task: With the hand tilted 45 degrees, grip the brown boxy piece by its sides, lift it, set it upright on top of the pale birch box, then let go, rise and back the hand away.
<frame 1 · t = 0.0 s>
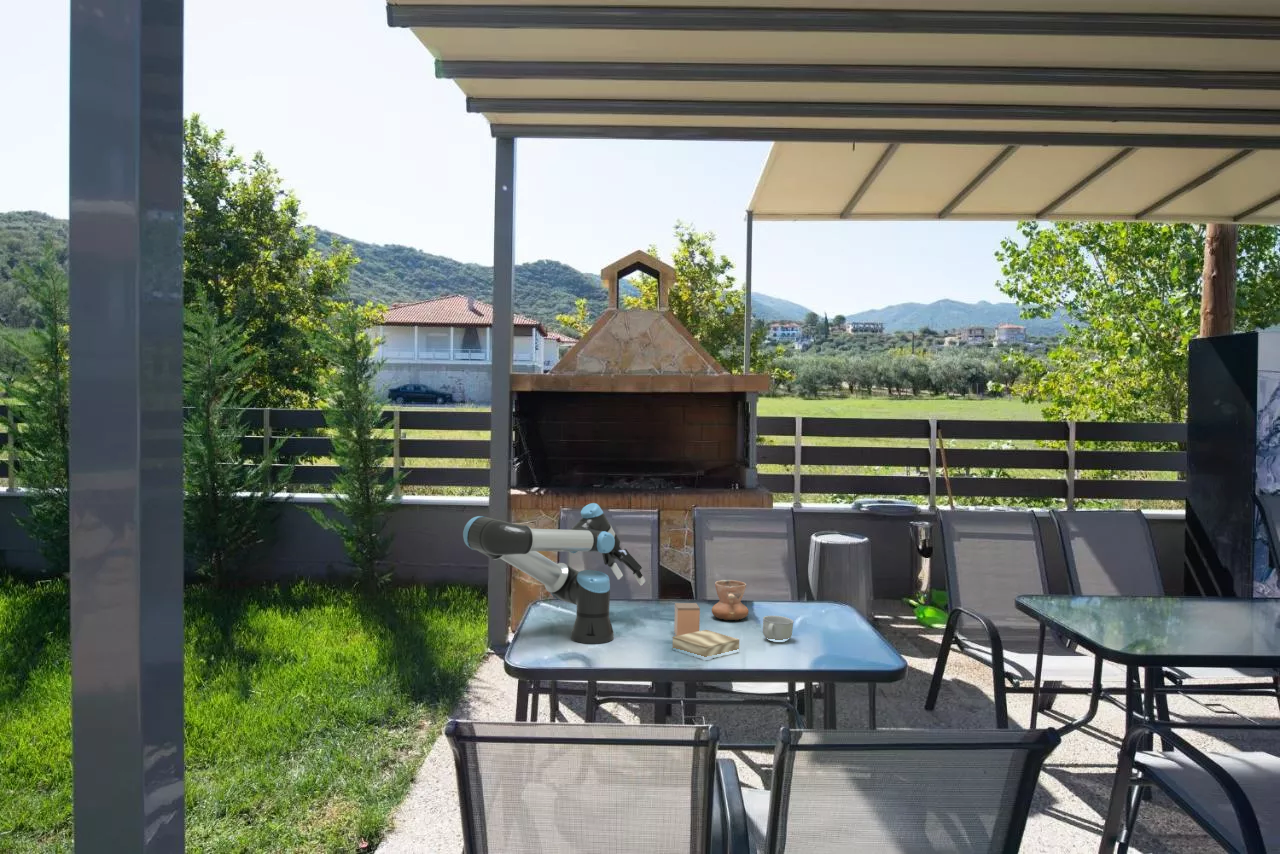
hand: (631, 580, 340), 15 cm above the table, tool tilted 35°, fingers open, 13 cm apart
birch box: (705, 652, 298), on the table
ceramic jug: (729, 618, 346), on the table
teacup: (775, 642, 312), on the table
brown boxy piece: (686, 635, 318), on the table
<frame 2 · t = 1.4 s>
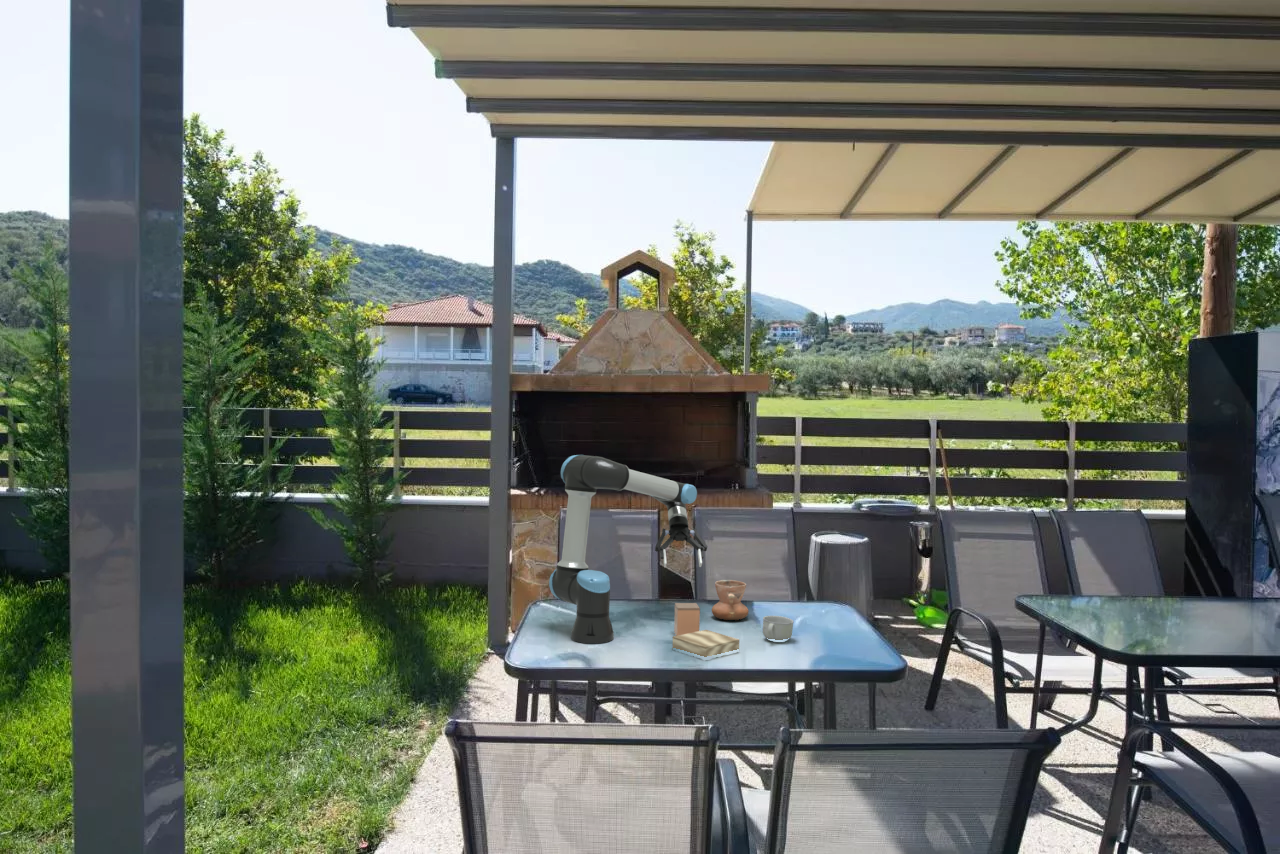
hand: (683, 565, 333), 23 cm above the table, tool tilted 45°, fingers open, 13 cm apart
nothing on the table moved.
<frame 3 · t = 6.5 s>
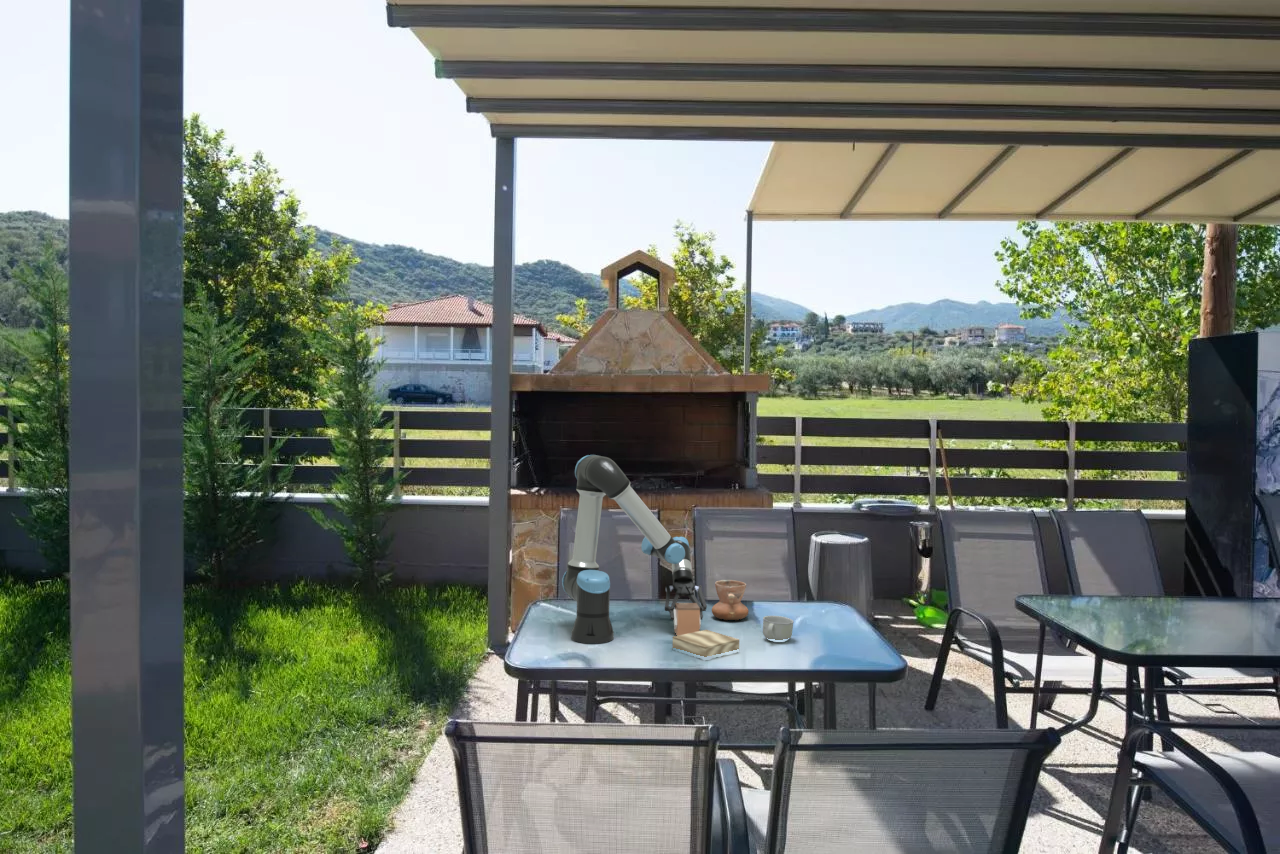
hand: (687, 626, 316), 4 cm above the table, tool tilted 45°, fingers closed on brown boxy piece, 8 cm apart
brown boxy piece: (686, 635, 318), on the table, touching gripper
everything else where it was.
when the fingers open (10 cm above the table, at t = 12.3 s): brown boxy piece drops 1 cm, point 5 cm above the table.
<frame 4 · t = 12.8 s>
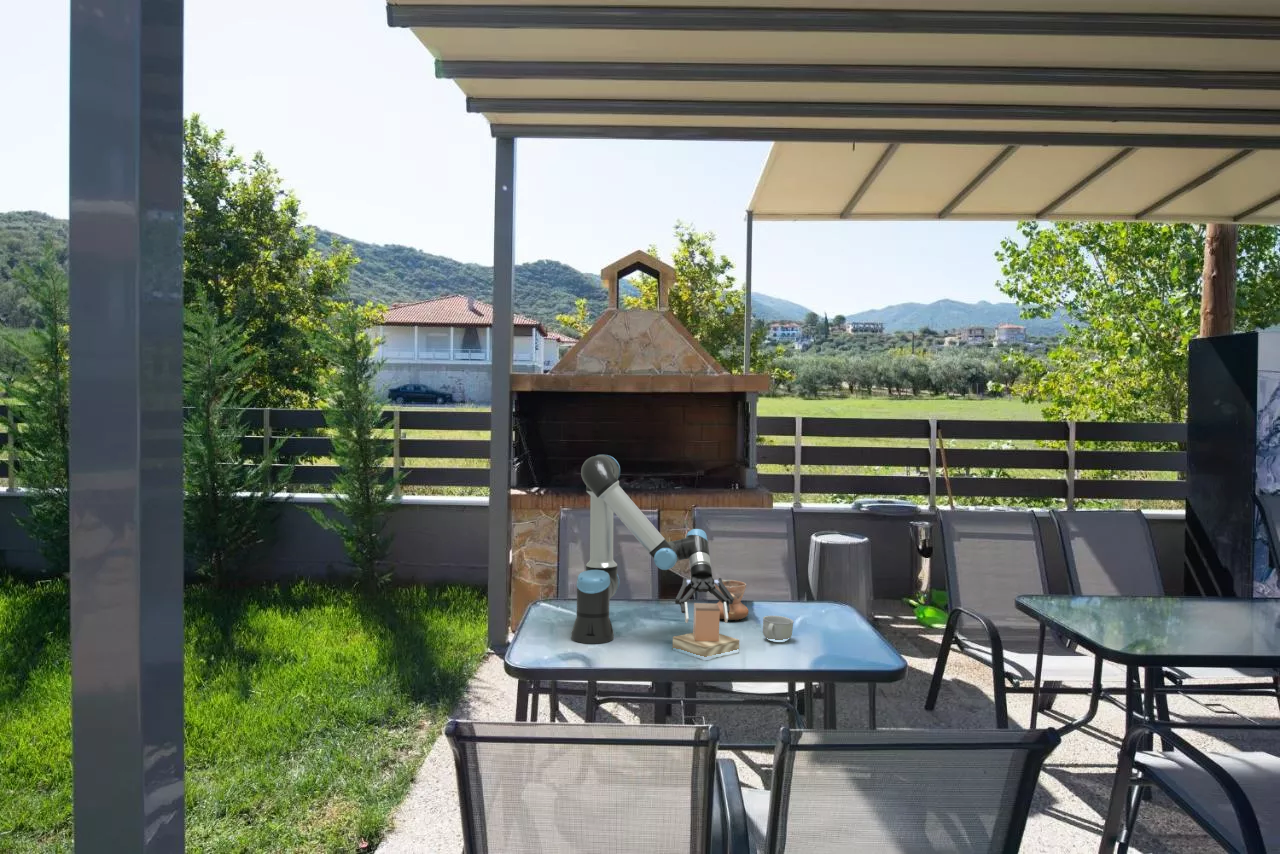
hand: (706, 620, 297), 11 cm above the table, tool tilted 45°, fingers open, 13 cm apart
brown boxy piece: (705, 638, 298), point 5 cm above the table
everything else where it was.
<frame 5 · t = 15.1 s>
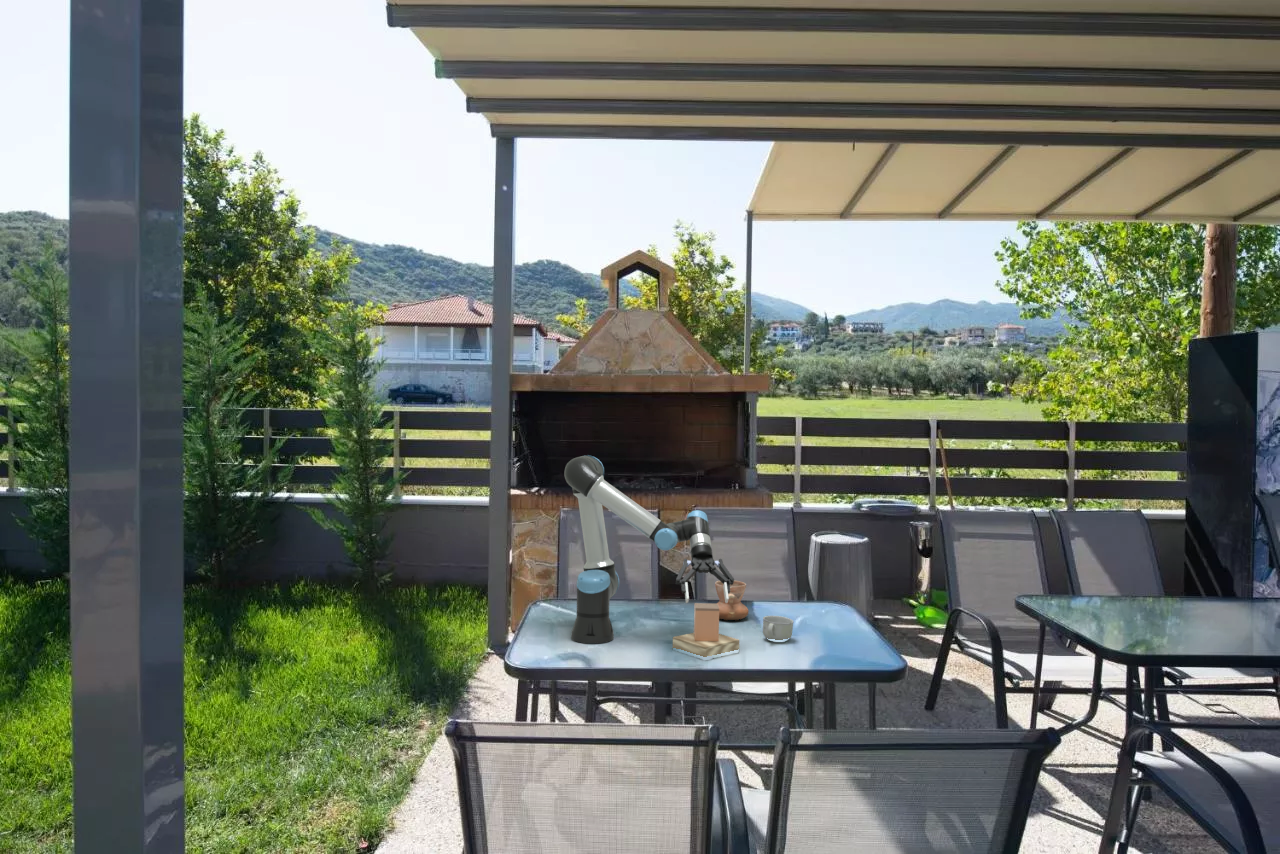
hand: (707, 600, 297), 17 cm above the table, tool tilted 45°, fingers open, 13 cm apart
nothing on the table moved.
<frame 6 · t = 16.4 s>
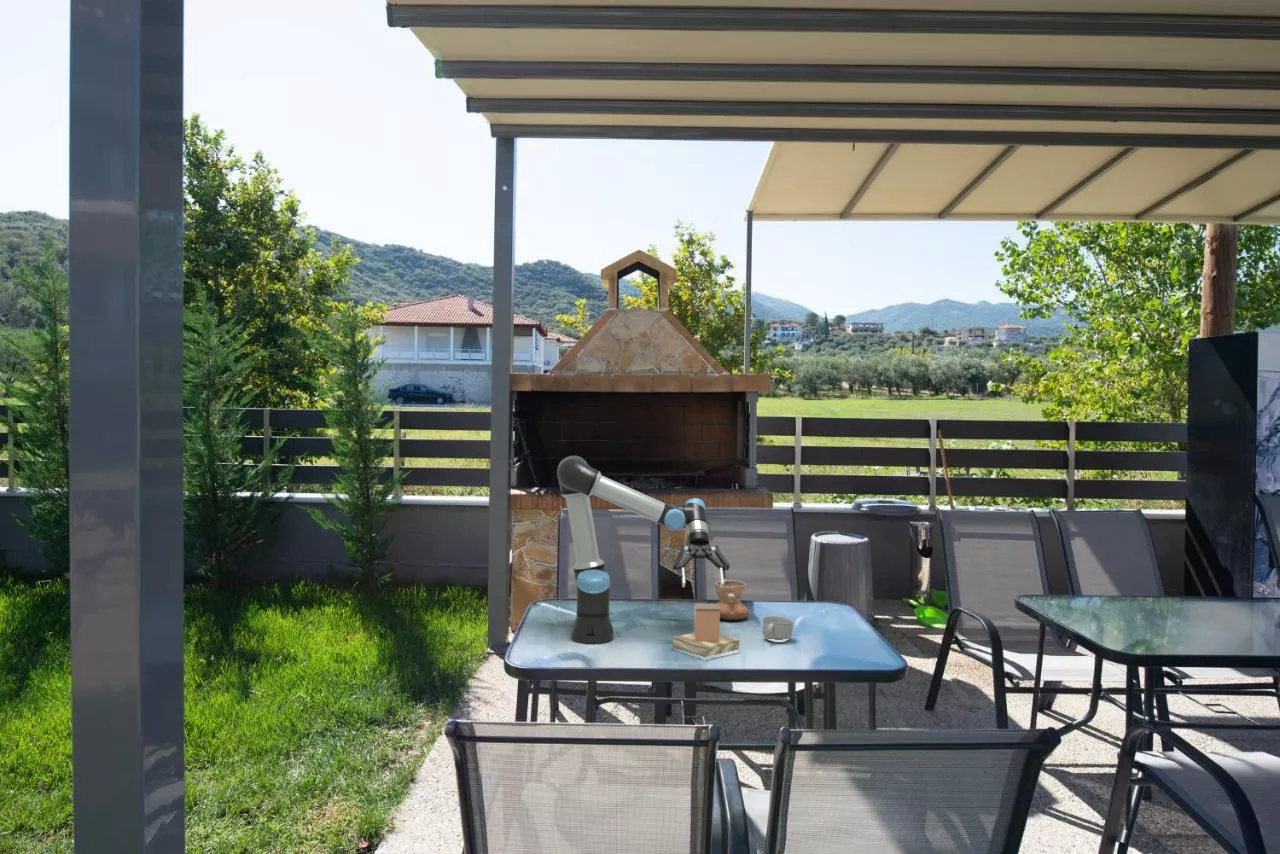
hand: (703, 585, 306), 21 cm above the table, tool tilted 45°, fingers open, 13 cm apart
nothing on the table moved.
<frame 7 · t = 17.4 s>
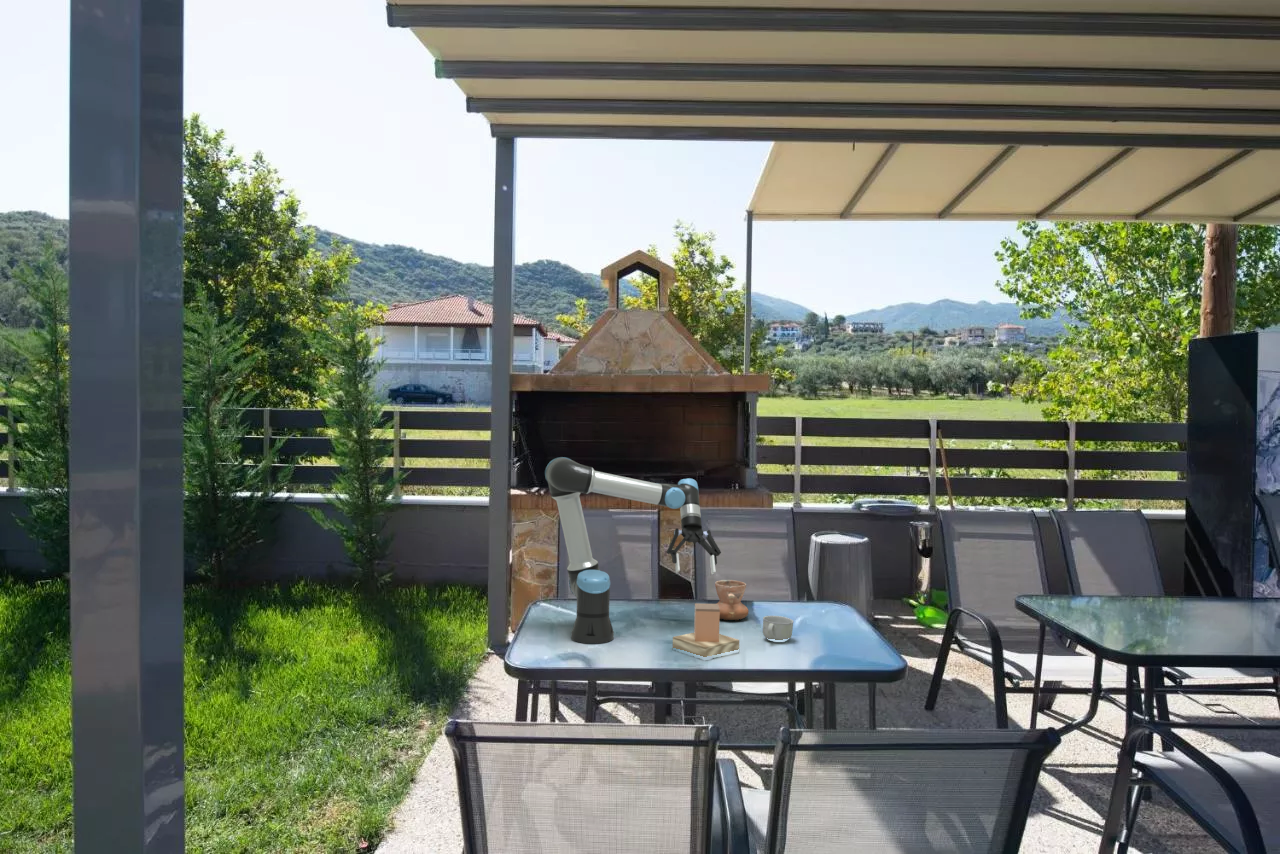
hand: (695, 572, 317), 23 cm above the table, tool tilted 30°, fingers open, 13 cm apart
birch box: (705, 652, 298), on the table, touching brown boxy piece
brown boxy piece: (706, 638, 298), point 4 cm above the table, touching birch box
everything else where it was.
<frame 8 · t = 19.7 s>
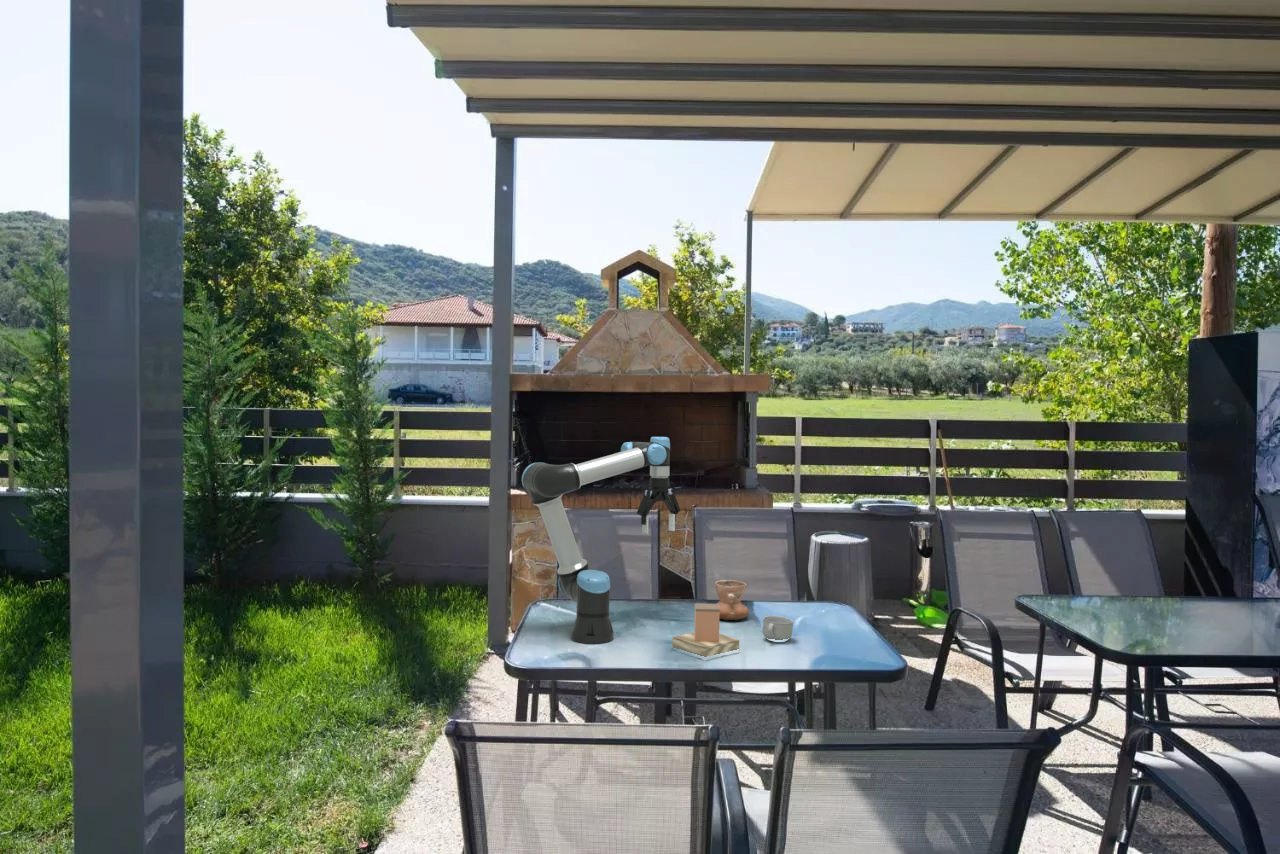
hand: (658, 532, 338), 35 cm above the table, tool pointing down, fingers open, 13 cm apart
nothing on the table moved.
at the end: brown boxy piece inside the target area on the birch box (0.5 cm from its centre), point 5.0 cm above the birch box's base; brown boxy piece tilted 0°; the gripper is holding nothing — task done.
